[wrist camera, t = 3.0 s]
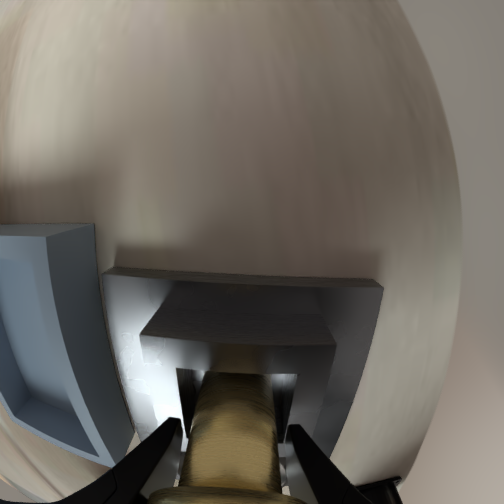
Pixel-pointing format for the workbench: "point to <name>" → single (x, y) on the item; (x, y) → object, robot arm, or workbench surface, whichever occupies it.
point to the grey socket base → (241, 344)
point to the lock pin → (230, 446)
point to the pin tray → (58, 342)
